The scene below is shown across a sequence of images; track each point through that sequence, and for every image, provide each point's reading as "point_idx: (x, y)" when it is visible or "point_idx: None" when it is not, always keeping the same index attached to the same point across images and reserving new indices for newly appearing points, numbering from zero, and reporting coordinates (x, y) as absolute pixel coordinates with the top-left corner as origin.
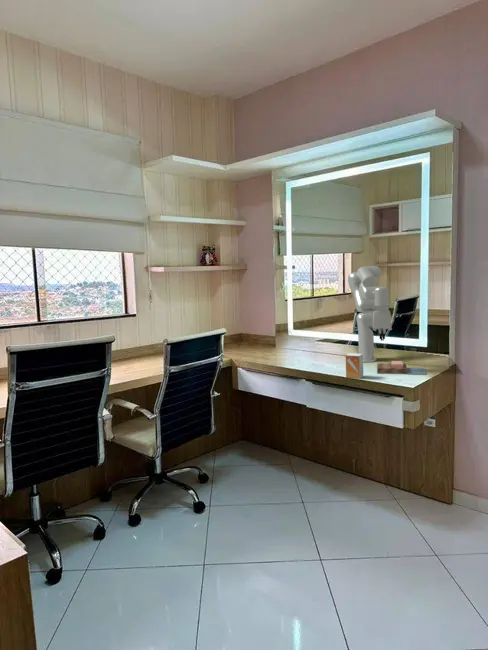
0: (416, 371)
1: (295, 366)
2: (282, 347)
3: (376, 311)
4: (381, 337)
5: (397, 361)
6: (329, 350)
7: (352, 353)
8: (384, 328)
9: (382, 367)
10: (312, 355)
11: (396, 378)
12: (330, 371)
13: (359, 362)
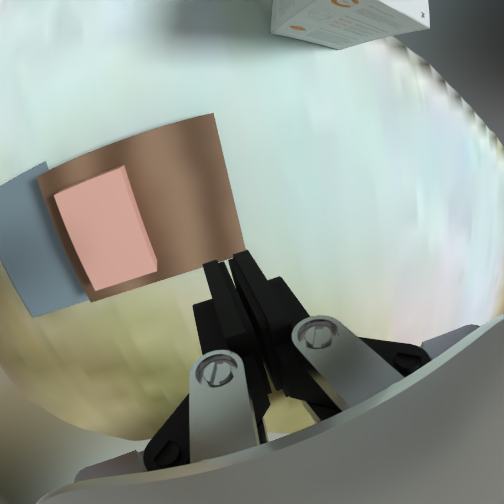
0: (23, 232)
1: (497, 177)
2: None
3: None
4: (250, 276)
5: (115, 268)
6: None
7: (410, 8)
8: (221, 460)
9: (185, 149)
10: (456, 327)
11: (80, 49)
12: (423, 116)
13: None
